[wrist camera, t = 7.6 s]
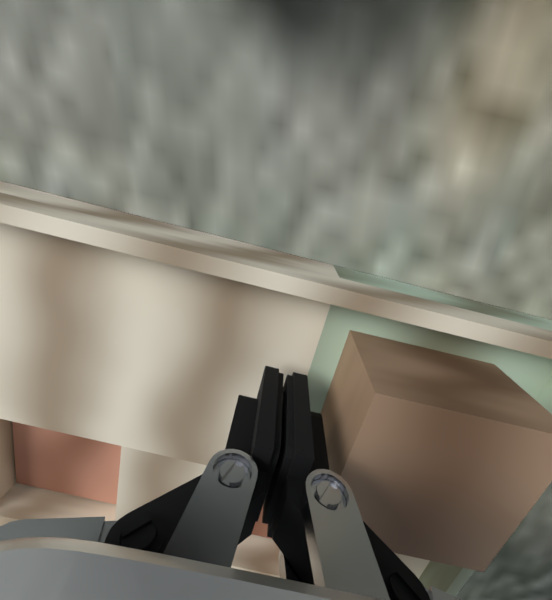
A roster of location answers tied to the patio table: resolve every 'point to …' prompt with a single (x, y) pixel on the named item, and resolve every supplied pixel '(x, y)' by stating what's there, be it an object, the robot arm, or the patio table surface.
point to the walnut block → (435, 448)
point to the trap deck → (188, 354)
